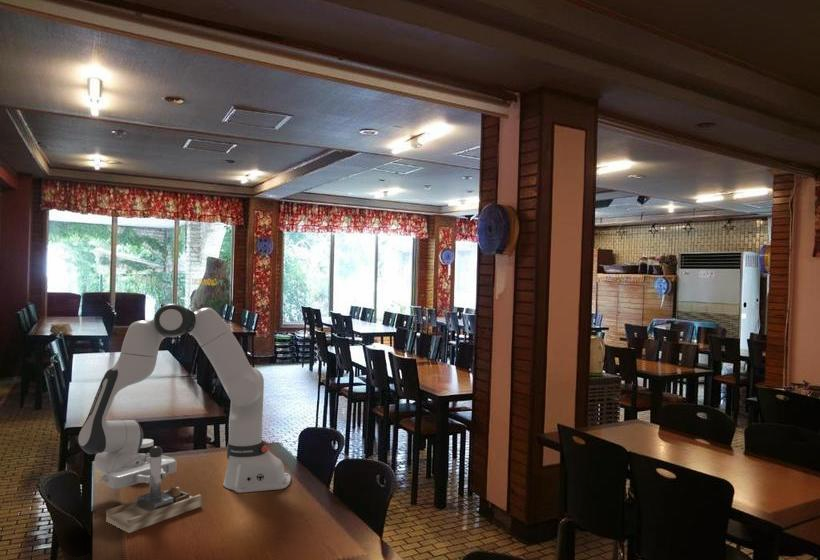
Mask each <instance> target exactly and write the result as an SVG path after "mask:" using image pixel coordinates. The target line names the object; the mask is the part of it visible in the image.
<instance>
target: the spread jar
mask: <svg viewBox="0 0 820 560" xmlns="http://www.w3.org/2000/svg"><path fill="white" fill-rule="evenodd" d="M152 447H154V439H151V438H143V442H142V445H141V448H140V450H139V452H138V453H149V451H150V449H151V448H152Z"/></svg>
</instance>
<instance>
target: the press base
mask: <svg viewBox="0 0 820 560" xmlns="http://www.w3.org/2000/svg"><path fill="white" fill-rule="evenodd" d="M174 488H178V489H179V490H180V492H181V495H180V497H177V498H175V499H174V501H173V504H170V505H167V506H165V507H162V508H159V509H156V510H153V511H150V512H149V511H147V510H145V509H142V508H140V507H138V506H137V499H136V500H133V501H129V502H127V503H123V504H120V505H117V506H115V507H111V508H109V509H106V510H105V516H106V517H105V523H107V522H108V523H107V524H109V523H110V524H109V525H111V524H112V525H111V526H113V525H114V527H115V526H116V528H117V529H119V528H120V530H122V531H124V532H125V533H129V534H131V533H133V532H136V531H139V530H141V529H144V528H146V527H150V526H152V525H155V524H158V523H160V522H163V521H165V520H168V519H171V518H174V517H176V516H180V515H182V514H184V513H187V512H189V511H194V510H195V509H198V508H201V507H202V495H201V494H200V493H199V494H197V495H193V496H192V495H190V493H188V492H185V491H182V490H181V489H180V486H175V487H174ZM168 490H169V489H166V490H164V491H162V492H164V493H167V492H168Z"/></svg>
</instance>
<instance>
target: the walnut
mask: <svg viewBox="0 0 820 560" xmlns="http://www.w3.org/2000/svg"><path fill="white" fill-rule="evenodd" d="M167 490H168V492H167V494H170V495H171V497H173V501H174V499H175V498H177V497H180V495H181V492H180V491H181V489H180V490H179V489H178V488H175V487H171V488H169V489H167Z"/></svg>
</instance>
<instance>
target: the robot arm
mask: <svg viewBox="0 0 820 560" xmlns="http://www.w3.org/2000/svg"><path fill="white" fill-rule="evenodd" d="M184 334H190V335H191V336H192V337H193V338H194V339H195V340H196V342H197V343H198V345H199V347H200V348H201V349H202V351H203V353H204V354H205V356H206V357H207V359H208V360H209V362H210V363H211V365H212V367H213V369H214V370H215V373H216V375H217V377H218V379H219V381H220V383H221V385H222V387H223V389H224V391H225V392H226V394H227V396H228V399H229V400H230V407H229V417H228V442H227V445H226V457H227V458H226V459H227V465H226V471H225V476H224V479H223V480H224V481H223V484H222V486H223V487H225V488H226V489H229V490H232V491H234V492H235V493H239V494H241V493H249V492H250V493H253V492H262V491H273V490H282V489H285V488H287V487H288V486H289V485H290V484H291V478H292V477H291V474H290V473H288V472H285V467H284V464H283V461H282V460H281V459H280V458H278V457H276V456H275V455H274V454H273V453H271V452H270V451H269V442H268V440H267V441H264V439H263V415H264V414H263V411H264V387H265V384H264V383H265V379H264V376H263V374H262V373H261V371H260V370H259V369H257V368H255V367H252V366H251V363H250V362H249V360H248V358H247V356H246V353H245V351H244V350H243V349H244V348H243V347H242V346H241V344H240V342H239V341H238V339H237V338H236V336H235V335H234V333H233V331H232V330H231V329H230V327H229V326H228V324H227V323H226V321H225V320H224V318H222V317H221V316H220V314H219V313H218V312H217V310H215V309H213V308H212V307H202V308H199V309H198V310H195V311H192V310H191V309H188V308H187V307H185V306H183V305H182V304H179V303H170V302H169V303H166V304H164V305H162V306H160V307H159V308H158V309H157V310H156V312H155V313H154V316H153V319H152V320H145V319H143V320H137V321H134V322H132V323H131V324H130V325H129V326H128V329H127V331H126V334H125V336H124V338H123V342H122V345H121V349H120V353H119V357H118V360H117V361H116V363H115V364H114V366H113V367H111V368H110V369H108V370H107V371H106V372H105V373H104V376H103V378H102V380H101V382H100V383H99V387H98V389H97V392H96V394H95V397H94V399H93V402H92V404H91V407H90V409H89V411H88V414H87V418H86V419H85V421H84V423H83V425H82V426H81V428H80V431H79V432H78V437H77V442H78V443H77V444H78V445H79V447H80V448H81V449H82V451H84V452H85V453H86V454H88V455H95V456H94V466H95V467H96V469H97V470H98V472H100V473H101V474H103V476H101V477H100V481H102V482H105V483H106V485H107V486H108V487H110V488H111V489H113V490H120V489H123V488H127V487H130V486H134V485H137V484H139V483H140V484H144V483H145V484H150V482H152V481H153V480H152V479H153V477H152V476H150V455H149V453H138V452H139V450H140V448H141V445H142V442H143V439H144V431H143V429H142V427H141V424H140V423H139V422H138V421H137V420H135V419H117V420H115V419H114V420H107V418H108V415H109V413H110V410H111V407H112V404H113V402H114V399H115V397H116V395H117V394H118V393H119V392H120V391H122V389H123V390H124V389H125V388H127V387H129V386H131V385H134V384H138V383H140V382H143V381H145V380H146V379H148V378H149V377H150V376H151V375H152V374H153V372H154V371H155V367H156V365H157V359H158V354H159V350H160V349H159V348H160V345H161V343H162V341H163V340H164V339H167V338H177V337H180V336H182V335H184ZM177 466H178V463H177V460H176V459H175V458H173V457H171V456H168V455H163V454H162V455H161V480H162V479H167V475H170V474H173V473H176V472H177Z"/></svg>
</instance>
